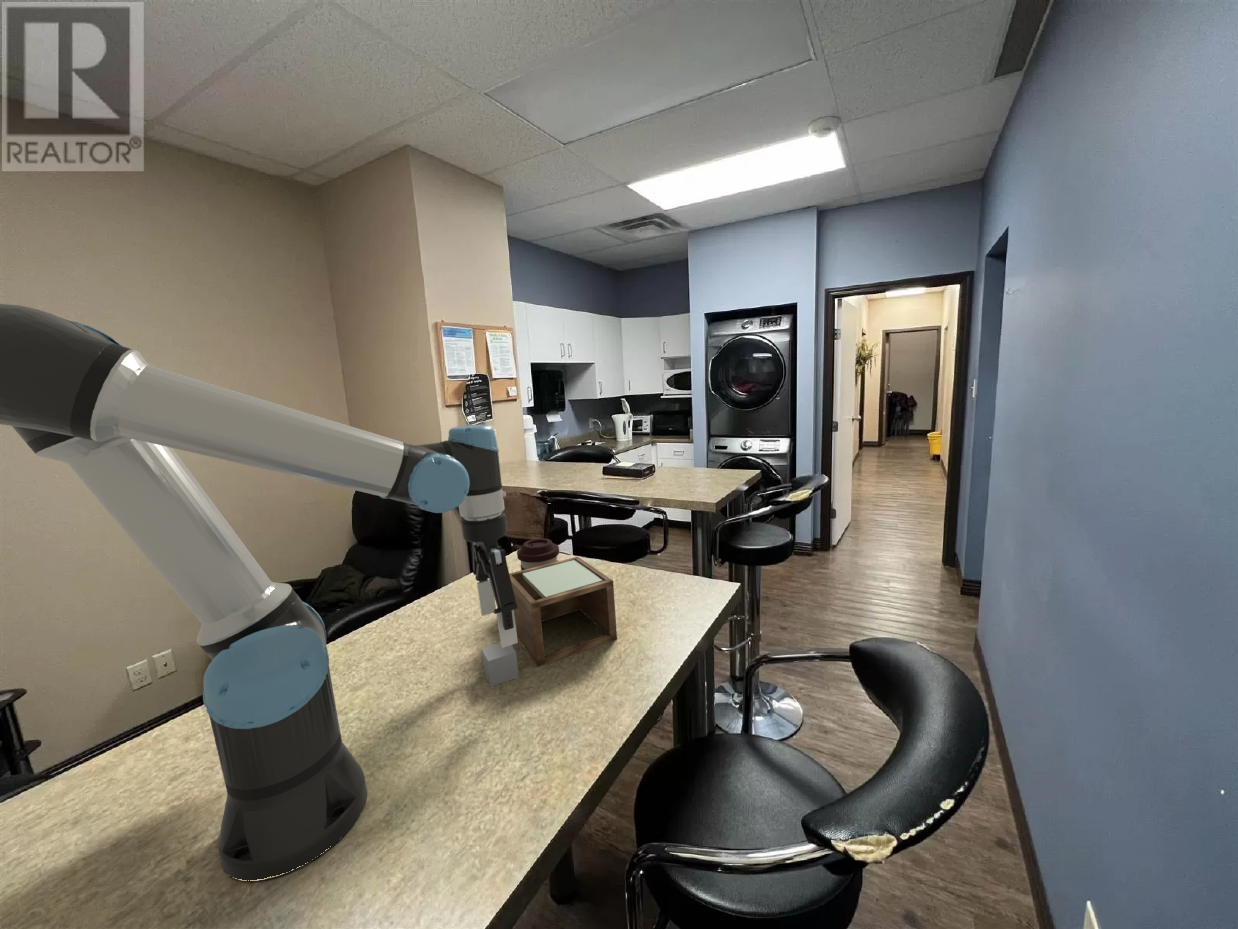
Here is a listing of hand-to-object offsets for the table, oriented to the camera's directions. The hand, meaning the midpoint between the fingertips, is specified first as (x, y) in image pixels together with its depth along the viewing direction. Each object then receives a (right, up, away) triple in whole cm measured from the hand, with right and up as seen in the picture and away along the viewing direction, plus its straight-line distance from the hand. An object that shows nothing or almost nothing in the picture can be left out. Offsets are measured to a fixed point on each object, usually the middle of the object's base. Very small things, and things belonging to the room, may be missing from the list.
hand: (498, 627), depth 86 cm
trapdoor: (+10, +5, +13) cm, 17 cm away
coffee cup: (+3, -4, +30) cm, 31 cm away
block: (0, -9, +1) cm, 9 cm away
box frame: (+10, -6, +14) cm, 18 cm away
